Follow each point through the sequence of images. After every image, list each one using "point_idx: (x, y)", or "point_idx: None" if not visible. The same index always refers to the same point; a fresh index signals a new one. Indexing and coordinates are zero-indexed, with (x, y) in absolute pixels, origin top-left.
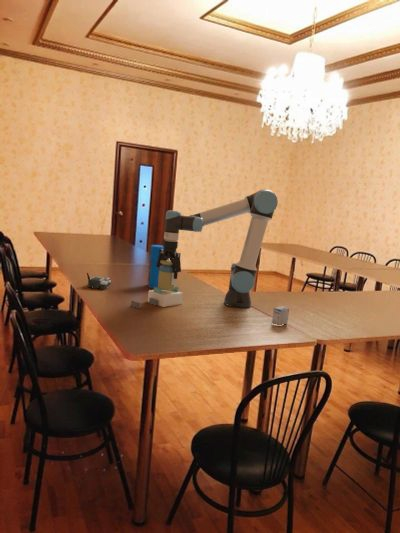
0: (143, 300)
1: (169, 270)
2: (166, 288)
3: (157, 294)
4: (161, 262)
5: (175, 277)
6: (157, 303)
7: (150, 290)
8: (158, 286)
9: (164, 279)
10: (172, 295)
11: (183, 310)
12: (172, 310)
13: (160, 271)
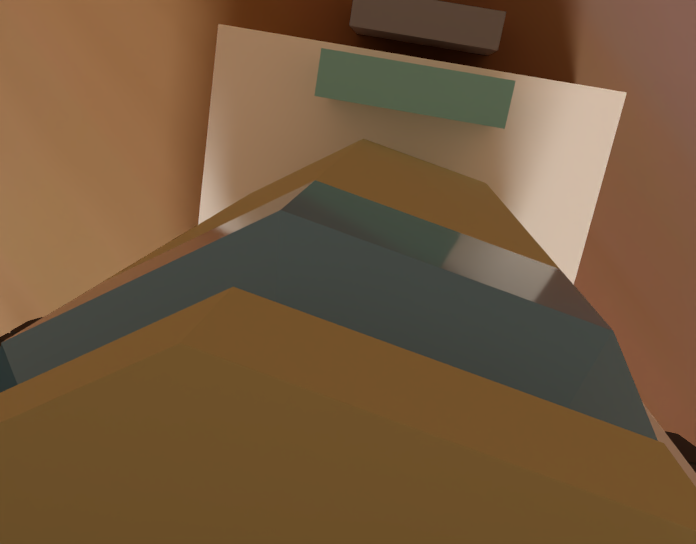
0: (654, 93)
1: (65, 307)
2: (273, 183)
3: (386, 53)
4: (544, 424)
5: (16, 332)
6: (355, 30)
7: (603, 124)
8: (467, 178)
9: (289, 181)
10: (204, 218)
11: (22, 130)
12: (89, 6)
13: (472, 235)
